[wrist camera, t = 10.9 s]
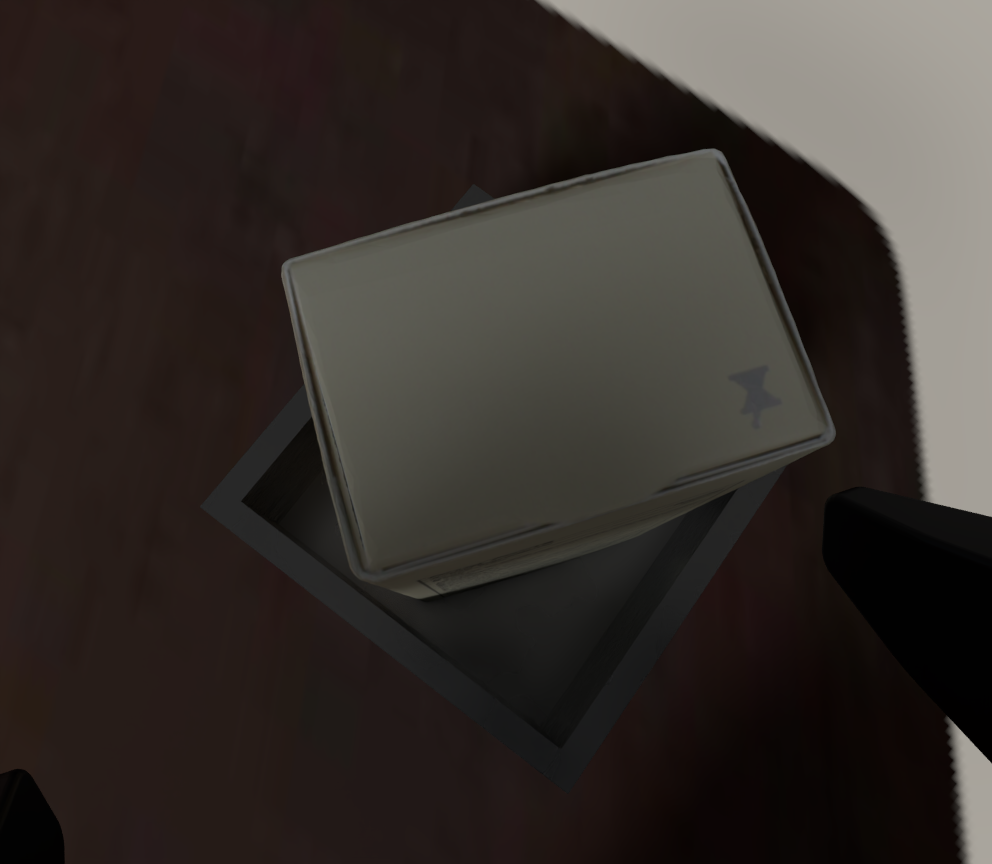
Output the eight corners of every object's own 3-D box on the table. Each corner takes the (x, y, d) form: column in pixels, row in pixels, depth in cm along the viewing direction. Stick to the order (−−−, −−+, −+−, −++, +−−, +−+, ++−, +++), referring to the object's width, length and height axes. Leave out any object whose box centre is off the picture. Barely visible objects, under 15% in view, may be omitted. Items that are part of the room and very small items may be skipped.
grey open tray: (745, 462, 23) (814, 424, 19) (543, 759, 21) (567, 793, 17) (468, 264, 24) (473, 184, 20) (250, 530, 22) (200, 506, 18)
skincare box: (592, 387, 23) (747, 126, 11) (643, 539, 22) (873, 436, 10) (363, 450, 22) (263, 245, 10) (407, 611, 21) (353, 590, 9)
